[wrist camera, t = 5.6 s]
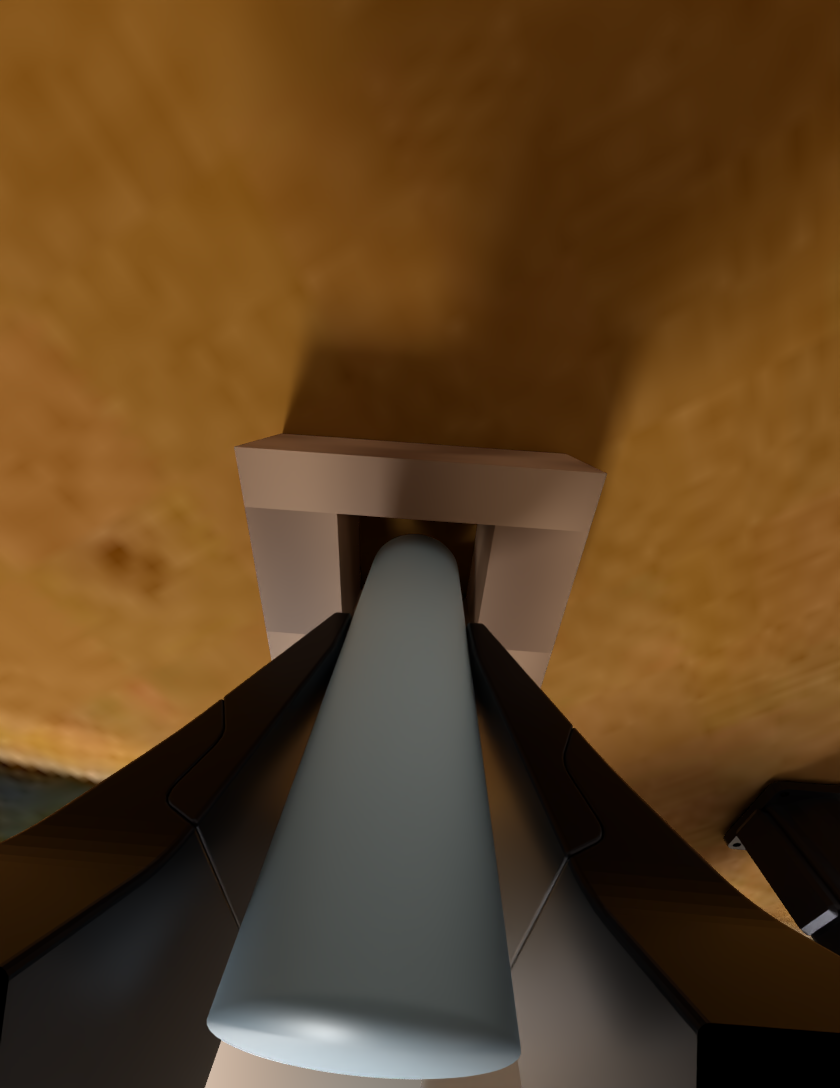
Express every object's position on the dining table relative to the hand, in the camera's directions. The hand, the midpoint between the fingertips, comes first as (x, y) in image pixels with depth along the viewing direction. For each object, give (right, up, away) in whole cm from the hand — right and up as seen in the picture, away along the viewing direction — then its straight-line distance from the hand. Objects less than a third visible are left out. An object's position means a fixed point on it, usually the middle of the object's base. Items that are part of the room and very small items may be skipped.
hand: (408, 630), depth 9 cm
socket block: (0, +2, +5) cm, 5 cm away
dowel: (0, +1, +3) cm, 3 cm away
